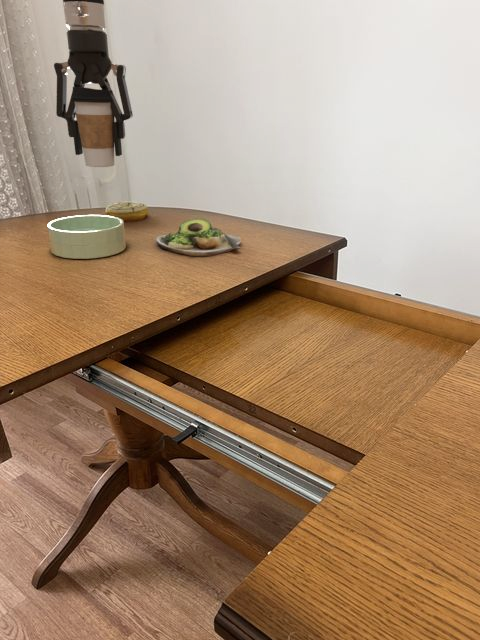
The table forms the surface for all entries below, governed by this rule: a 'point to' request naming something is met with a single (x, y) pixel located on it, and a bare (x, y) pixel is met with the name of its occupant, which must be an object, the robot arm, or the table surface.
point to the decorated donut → (127, 211)
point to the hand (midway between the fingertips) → (99, 154)
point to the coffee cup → (95, 125)
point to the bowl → (86, 236)
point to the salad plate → (198, 239)
